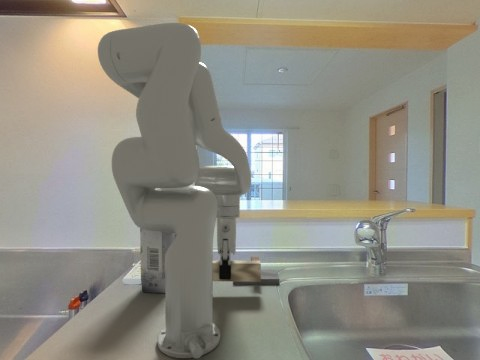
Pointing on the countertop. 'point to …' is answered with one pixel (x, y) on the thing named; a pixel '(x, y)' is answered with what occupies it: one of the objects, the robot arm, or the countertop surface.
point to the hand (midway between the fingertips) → (225, 276)
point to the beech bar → (240, 271)
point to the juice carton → (154, 259)
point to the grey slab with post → (263, 275)
